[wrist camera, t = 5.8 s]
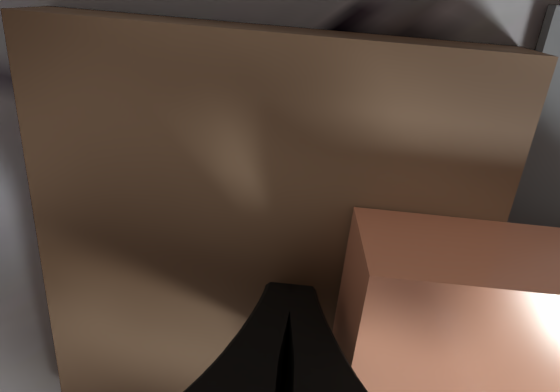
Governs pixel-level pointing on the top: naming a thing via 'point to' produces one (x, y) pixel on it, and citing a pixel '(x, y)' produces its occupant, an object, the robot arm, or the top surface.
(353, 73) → the brown wooden board
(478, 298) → the block
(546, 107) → the mat
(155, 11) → the top surface
